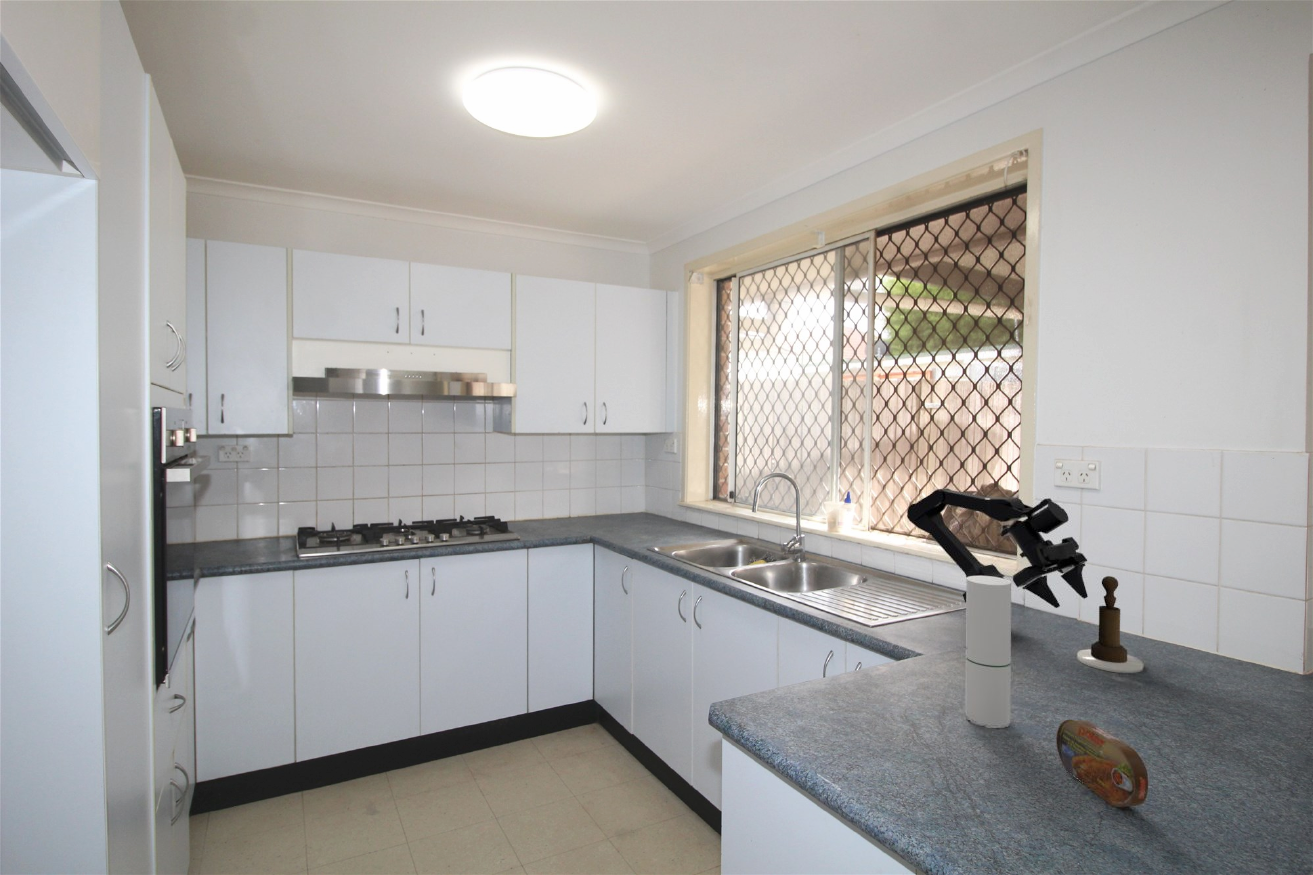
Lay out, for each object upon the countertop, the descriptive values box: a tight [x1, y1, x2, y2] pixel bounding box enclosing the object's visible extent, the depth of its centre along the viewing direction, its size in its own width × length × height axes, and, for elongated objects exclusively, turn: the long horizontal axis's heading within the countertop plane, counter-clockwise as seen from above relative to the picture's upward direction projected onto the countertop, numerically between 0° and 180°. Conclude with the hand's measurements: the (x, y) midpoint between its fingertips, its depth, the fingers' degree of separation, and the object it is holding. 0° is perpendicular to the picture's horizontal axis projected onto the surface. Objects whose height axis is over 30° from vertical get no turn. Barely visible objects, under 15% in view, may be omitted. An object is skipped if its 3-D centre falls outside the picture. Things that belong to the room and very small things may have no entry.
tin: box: [1056, 719, 1149, 808], centre depth 96 cm, size 15×3×8 cm, turn 5°
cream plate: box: [1076, 648, 1144, 674], centre depth 147 cm, size 12×12×1 cm
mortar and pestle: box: [1090, 575, 1128, 663], centre depth 147 cm, size 7×6×18 cm
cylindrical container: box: [964, 576, 1012, 726], centre depth 119 cm, size 7×7×25 cm
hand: (1072, 602), depth 155 cm, fingers open, 9 cm apart
